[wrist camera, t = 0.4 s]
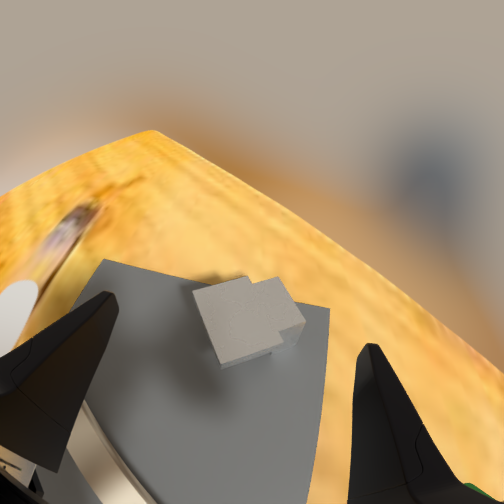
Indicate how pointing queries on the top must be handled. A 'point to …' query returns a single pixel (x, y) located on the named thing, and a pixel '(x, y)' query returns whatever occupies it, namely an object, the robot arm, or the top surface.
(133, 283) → the board
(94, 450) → the link
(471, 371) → the top surface
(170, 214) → the top surface
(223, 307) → the block
